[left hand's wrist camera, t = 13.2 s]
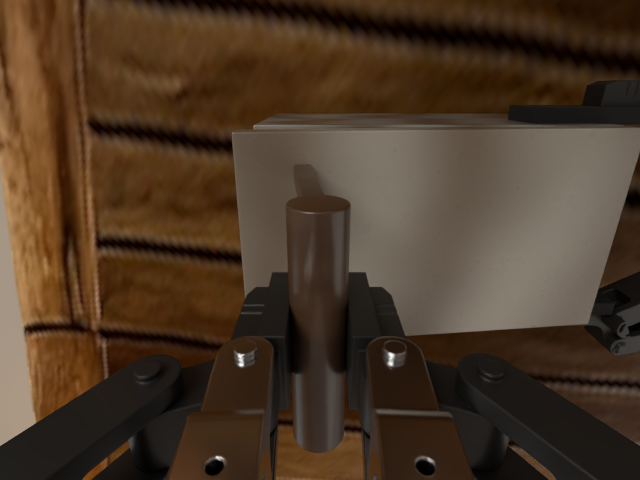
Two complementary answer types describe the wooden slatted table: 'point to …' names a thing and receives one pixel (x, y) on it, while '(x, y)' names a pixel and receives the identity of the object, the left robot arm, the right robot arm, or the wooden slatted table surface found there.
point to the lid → (425, 233)
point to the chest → (394, 121)
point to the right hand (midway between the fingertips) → (502, 214)
